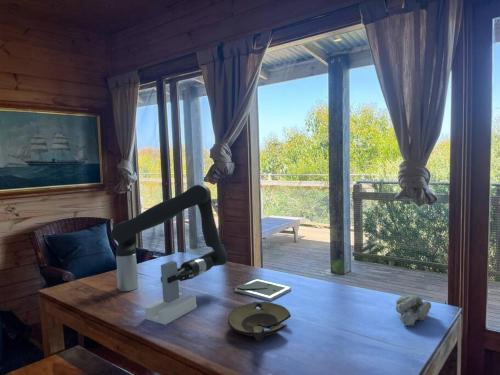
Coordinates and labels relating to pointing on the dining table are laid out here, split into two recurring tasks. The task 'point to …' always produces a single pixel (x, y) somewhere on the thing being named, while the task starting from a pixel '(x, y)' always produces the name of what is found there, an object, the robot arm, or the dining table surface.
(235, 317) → the oil lamp
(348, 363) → the dining table surface
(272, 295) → the picture frame
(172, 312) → the rail
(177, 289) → the slate slat
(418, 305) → the mineral
